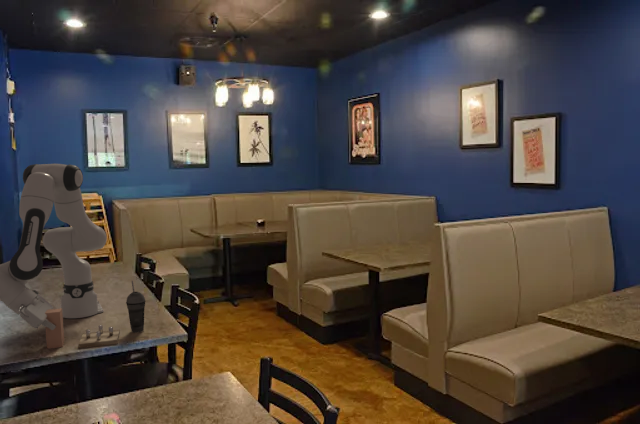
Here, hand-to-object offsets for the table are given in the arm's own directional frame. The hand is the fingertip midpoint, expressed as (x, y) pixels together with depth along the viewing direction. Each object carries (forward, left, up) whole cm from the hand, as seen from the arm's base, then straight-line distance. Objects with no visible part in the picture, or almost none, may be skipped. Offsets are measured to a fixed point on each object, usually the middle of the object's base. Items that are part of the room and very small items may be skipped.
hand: (56, 325), depth 191 cm
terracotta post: (0, -1, -7) cm, 7 cm away
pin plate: (0, +14, -7) cm, 16 cm away
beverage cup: (-7, +27, -8) cm, 29 cm away
